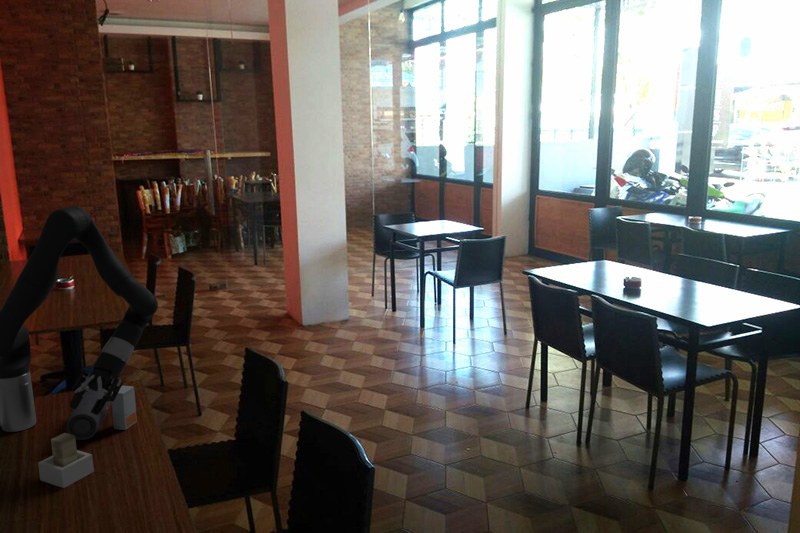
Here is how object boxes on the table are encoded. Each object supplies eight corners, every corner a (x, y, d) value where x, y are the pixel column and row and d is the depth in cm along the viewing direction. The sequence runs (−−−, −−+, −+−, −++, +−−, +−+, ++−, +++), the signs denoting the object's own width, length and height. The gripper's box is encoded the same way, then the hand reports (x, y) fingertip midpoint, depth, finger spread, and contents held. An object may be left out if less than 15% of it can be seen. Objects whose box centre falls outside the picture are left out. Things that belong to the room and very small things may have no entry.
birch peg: (55, 474, 166) (50, 439, 164) (68, 467, 169) (64, 432, 167) (65, 477, 164) (61, 442, 162) (79, 470, 168) (75, 435, 166)
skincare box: (126, 430, 193) (122, 393, 190) (113, 429, 194) (109, 392, 191) (137, 421, 199) (134, 386, 196) (125, 420, 199) (122, 385, 197)
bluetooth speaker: (101, 442, 186) (97, 410, 184) (66, 446, 183) (62, 414, 181) (115, 410, 207) (112, 381, 205) (84, 413, 205) (81, 384, 203)
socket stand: (40, 480, 165) (38, 462, 164) (70, 464, 173) (68, 447, 172) (63, 488, 161) (61, 470, 160) (93, 471, 169) (92, 454, 168)
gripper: (87, 347, 178) (54, 400, 170) (124, 354, 172) (91, 410, 164) (105, 359, 183) (74, 411, 176) (141, 366, 177) (110, 421, 170)
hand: (82, 410), depth 170 cm, fingers open, 8 cm apart
